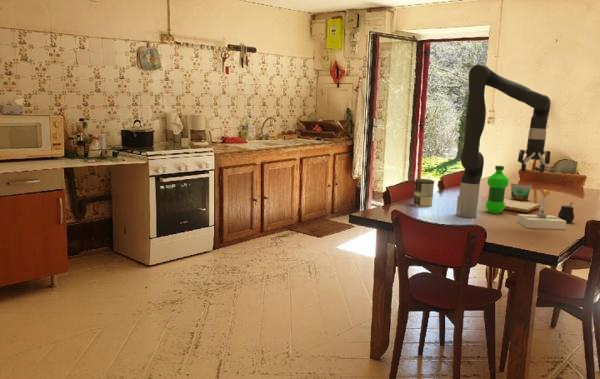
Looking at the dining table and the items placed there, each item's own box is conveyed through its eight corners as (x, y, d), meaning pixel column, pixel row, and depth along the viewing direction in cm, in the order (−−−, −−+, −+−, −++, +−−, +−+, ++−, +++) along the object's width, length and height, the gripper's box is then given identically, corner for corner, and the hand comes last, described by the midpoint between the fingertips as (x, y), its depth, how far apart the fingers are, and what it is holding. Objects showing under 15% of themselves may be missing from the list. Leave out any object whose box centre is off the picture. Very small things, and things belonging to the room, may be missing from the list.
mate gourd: (555, 221, 262) (557, 202, 260) (560, 219, 267) (563, 200, 265) (570, 224, 257) (573, 204, 255) (575, 222, 262) (578, 203, 260)
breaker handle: (540, 217, 248) (544, 190, 245) (536, 215, 252) (539, 189, 250) (546, 218, 248) (550, 190, 245) (542, 216, 252) (546, 189, 250)
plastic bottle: (506, 212, 279) (511, 166, 274) (502, 215, 270) (508, 168, 265) (486, 209, 284) (491, 164, 279) (482, 212, 275) (487, 166, 270)
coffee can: (410, 205, 285) (412, 180, 283) (416, 202, 294) (418, 178, 291) (428, 208, 280) (431, 182, 277) (434, 205, 289) (436, 180, 286)
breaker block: (527, 227, 244) (528, 219, 244) (516, 221, 256) (517, 213, 256) (565, 229, 245) (566, 221, 244) (552, 223, 257) (553, 215, 256)
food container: (510, 200, 314) (512, 184, 313) (508, 198, 320) (510, 182, 319) (531, 202, 312) (533, 186, 310) (529, 200, 318) (532, 184, 316)
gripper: (547, 138, 246) (543, 171, 249) (518, 136, 246) (514, 170, 249) (555, 139, 239) (551, 174, 242) (525, 138, 239) (521, 172, 241)
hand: (532, 172), depth 245 cm, fingers open, 8 cm apart
